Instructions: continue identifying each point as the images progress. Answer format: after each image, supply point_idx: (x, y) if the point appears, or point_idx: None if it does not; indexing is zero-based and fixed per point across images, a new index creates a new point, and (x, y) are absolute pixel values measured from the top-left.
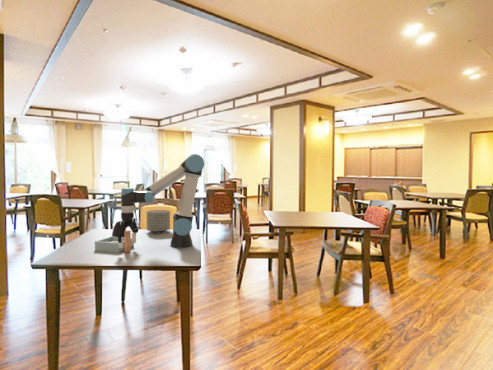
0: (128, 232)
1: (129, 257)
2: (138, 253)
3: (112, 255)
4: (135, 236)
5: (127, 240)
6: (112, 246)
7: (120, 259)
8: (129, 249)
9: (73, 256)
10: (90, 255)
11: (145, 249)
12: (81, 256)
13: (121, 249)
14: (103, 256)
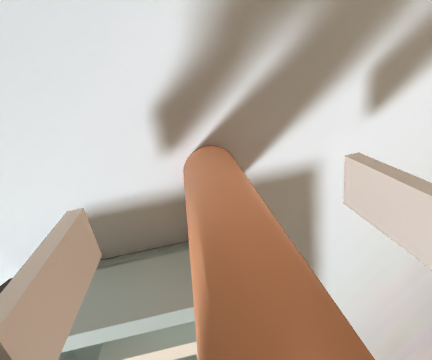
0: (340, 325)
1: (340, 18)
2: (183, 44)
3: (328, 207)
4: (33, 271)
5: (271, 213)
6: None
7: (416, 51)
8: (217, 155)
9: (403, 356)
10: (366, 313)
11: (10, 99)
12: (395, 331)
13: None
14: (367, 237)
